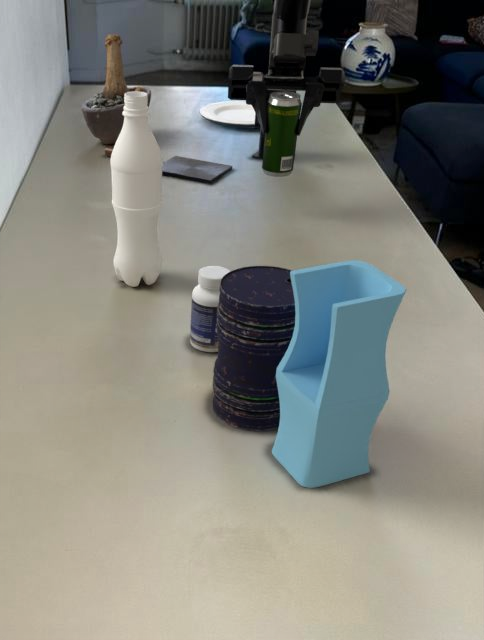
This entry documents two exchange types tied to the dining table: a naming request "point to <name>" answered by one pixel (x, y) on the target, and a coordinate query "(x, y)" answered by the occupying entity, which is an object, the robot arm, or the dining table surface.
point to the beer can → (281, 133)
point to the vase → (334, 370)
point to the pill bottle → (206, 309)
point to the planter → (110, 97)
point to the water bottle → (137, 194)
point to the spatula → (190, 168)
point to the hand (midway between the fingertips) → (281, 133)
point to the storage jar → (252, 345)
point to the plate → (230, 114)
